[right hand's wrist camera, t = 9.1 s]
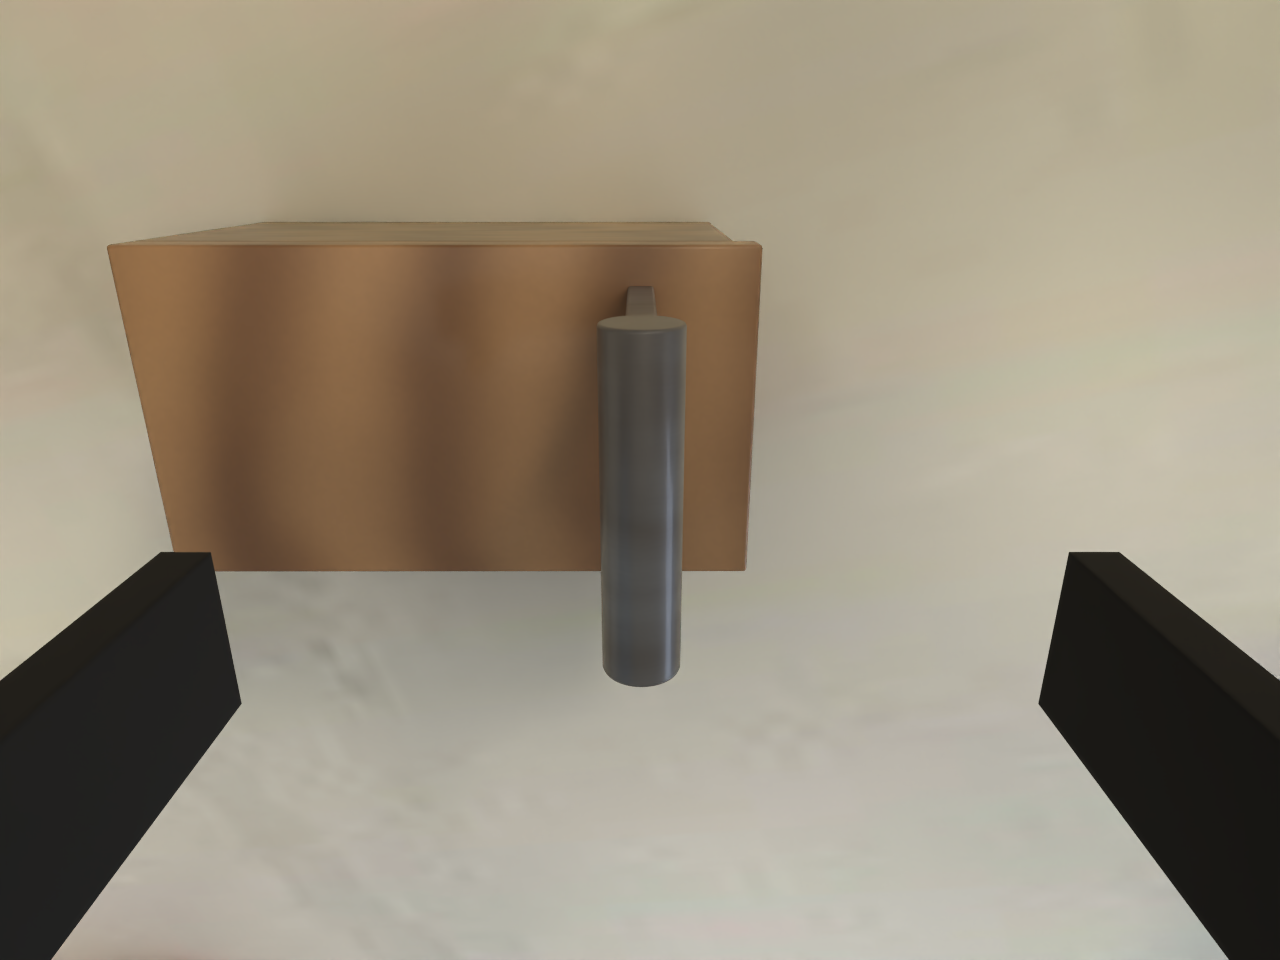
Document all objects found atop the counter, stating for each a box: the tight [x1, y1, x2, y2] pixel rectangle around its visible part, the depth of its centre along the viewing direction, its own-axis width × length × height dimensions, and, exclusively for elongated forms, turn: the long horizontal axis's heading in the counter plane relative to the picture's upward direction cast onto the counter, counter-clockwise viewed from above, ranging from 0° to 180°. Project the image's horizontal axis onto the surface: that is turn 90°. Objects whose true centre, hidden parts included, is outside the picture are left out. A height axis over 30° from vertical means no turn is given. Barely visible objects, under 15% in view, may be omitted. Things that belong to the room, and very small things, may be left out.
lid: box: [107, 241, 762, 687], centre depth 21 cm, size 17×10×8 cm, turn 90°
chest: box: [138, 222, 732, 241], centre depth 29 cm, size 17×10×9 cm, turn 90°
